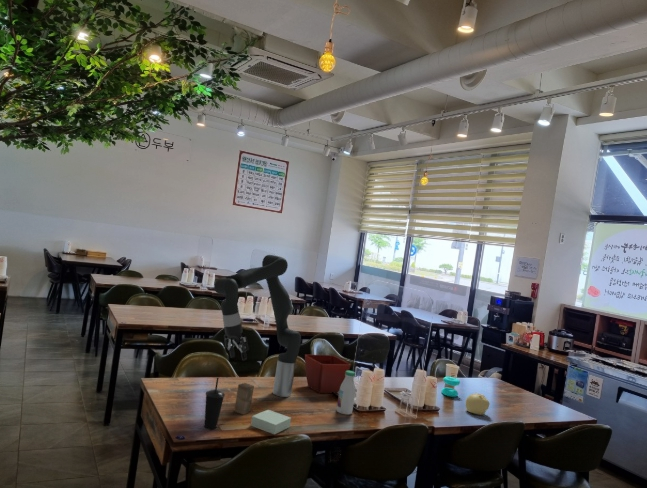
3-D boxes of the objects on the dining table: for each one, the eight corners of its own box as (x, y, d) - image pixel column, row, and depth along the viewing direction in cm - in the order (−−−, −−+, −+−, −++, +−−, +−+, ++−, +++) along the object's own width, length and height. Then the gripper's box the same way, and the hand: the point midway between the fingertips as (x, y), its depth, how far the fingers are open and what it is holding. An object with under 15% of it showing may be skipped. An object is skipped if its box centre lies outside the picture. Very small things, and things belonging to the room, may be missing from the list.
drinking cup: (202, 422, 208) (209, 374, 208) (220, 424, 209) (228, 376, 209) (199, 429, 201) (206, 379, 200) (218, 431, 201) (226, 382, 201)
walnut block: (241, 408, 230) (245, 382, 230) (249, 412, 228) (254, 385, 228) (234, 411, 226) (238, 384, 226) (243, 414, 224) (247, 387, 223)
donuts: (449, 380, 302) (440, 375, 311) (446, 397, 302) (437, 391, 311) (463, 381, 305) (454, 376, 314) (461, 398, 305) (451, 392, 315)
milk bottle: (353, 411, 250) (360, 371, 250) (349, 416, 243) (355, 375, 242) (339, 407, 252) (345, 368, 252) (334, 412, 245) (340, 371, 245)
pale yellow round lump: (490, 417, 275) (493, 398, 275) (470, 415, 273) (473, 396, 273) (480, 410, 286) (483, 391, 286) (460, 408, 284) (463, 389, 284)
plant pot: (328, 383, 292) (333, 354, 292) (346, 395, 276) (351, 364, 276) (299, 384, 282) (304, 354, 282) (316, 396, 266) (321, 364, 266)
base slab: (266, 418, 223) (268, 409, 223) (289, 427, 218) (291, 417, 218) (250, 425, 213) (252, 416, 212) (274, 434, 207) (275, 424, 207)
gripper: (249, 322, 219) (255, 357, 221) (229, 319, 229) (235, 353, 231) (235, 327, 214) (241, 364, 216) (216, 324, 224) (222, 359, 226)
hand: (238, 358), depth 224 cm, fingers open, 8 cm apart
